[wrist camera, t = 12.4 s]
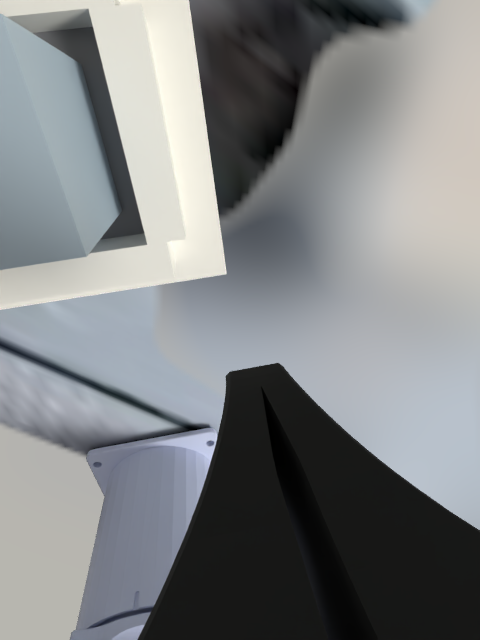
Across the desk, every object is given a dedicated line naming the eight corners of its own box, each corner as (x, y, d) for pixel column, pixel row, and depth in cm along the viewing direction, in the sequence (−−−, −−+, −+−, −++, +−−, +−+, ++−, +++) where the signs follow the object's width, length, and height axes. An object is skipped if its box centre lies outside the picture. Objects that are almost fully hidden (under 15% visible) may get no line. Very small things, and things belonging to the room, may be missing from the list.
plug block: (121, 210, 14) (86, 256, 9) (24, 225, 14) (-70, 280, 9) (81, 64, 12) (1, 13, 7) (-39, 78, 12) (-216, 37, 7)
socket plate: (225, 270, 17) (231, 290, 15) (-28, 309, 16) (-61, 337, 14) (176, -80, 11) (174, -131, 9) (-227, -45, 10) (-337, -92, 8)
